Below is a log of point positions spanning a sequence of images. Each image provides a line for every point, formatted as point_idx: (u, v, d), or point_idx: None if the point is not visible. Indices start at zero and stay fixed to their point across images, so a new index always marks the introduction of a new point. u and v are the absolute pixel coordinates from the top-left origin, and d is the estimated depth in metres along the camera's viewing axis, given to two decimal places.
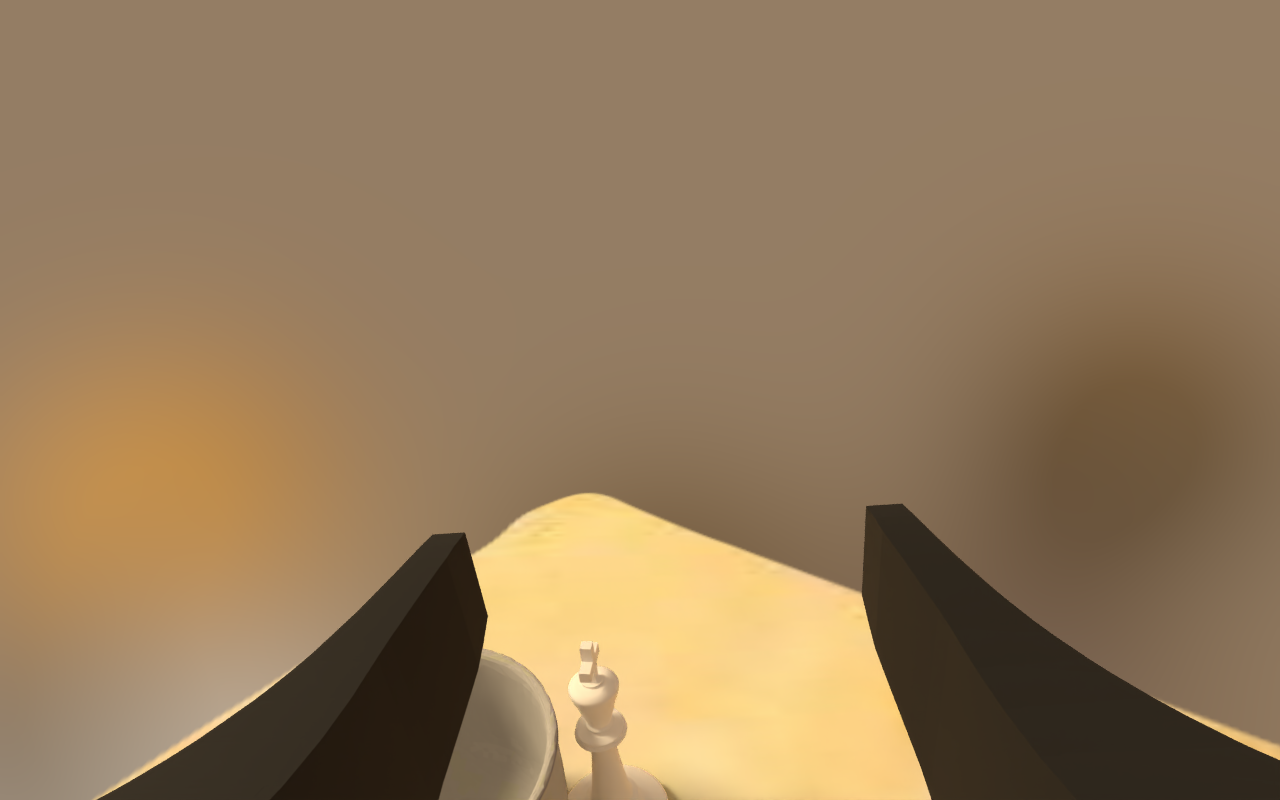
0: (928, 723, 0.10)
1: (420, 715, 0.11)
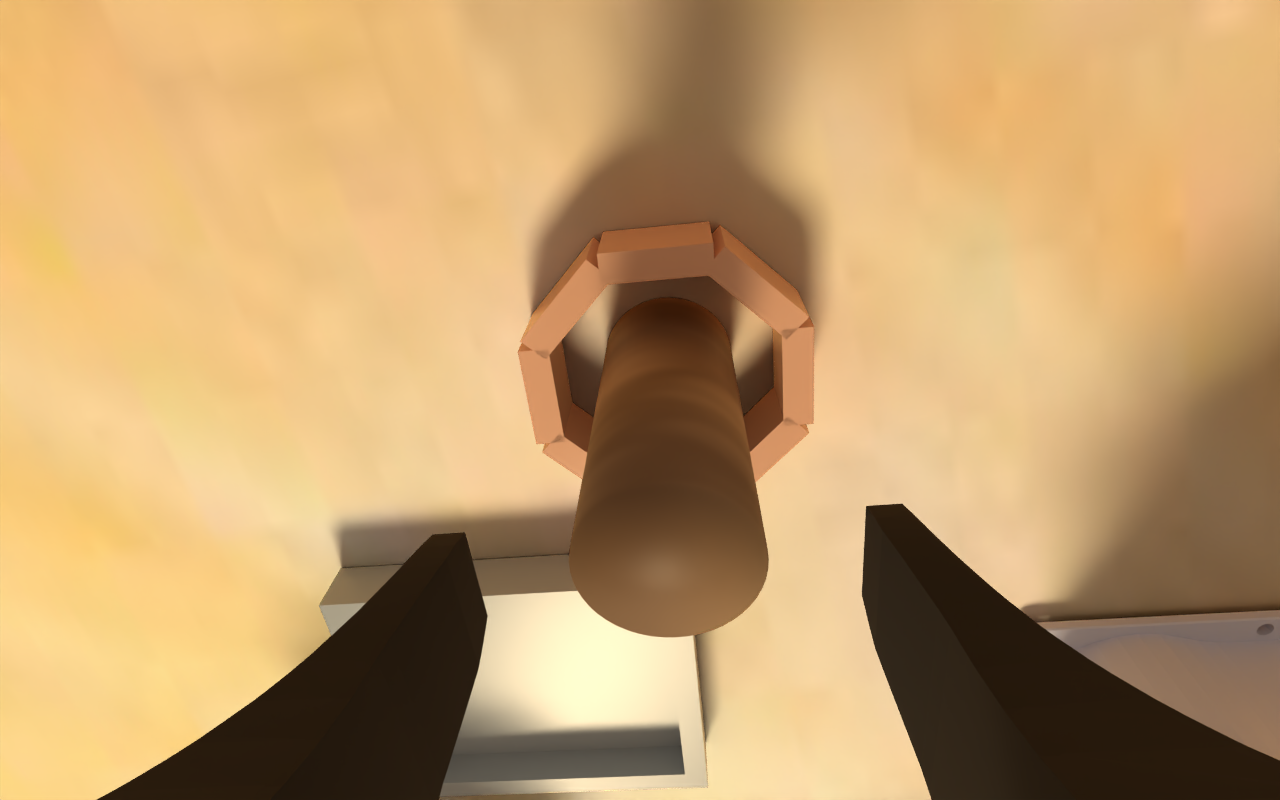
0: (929, 723, 0.10)
1: (420, 715, 0.11)
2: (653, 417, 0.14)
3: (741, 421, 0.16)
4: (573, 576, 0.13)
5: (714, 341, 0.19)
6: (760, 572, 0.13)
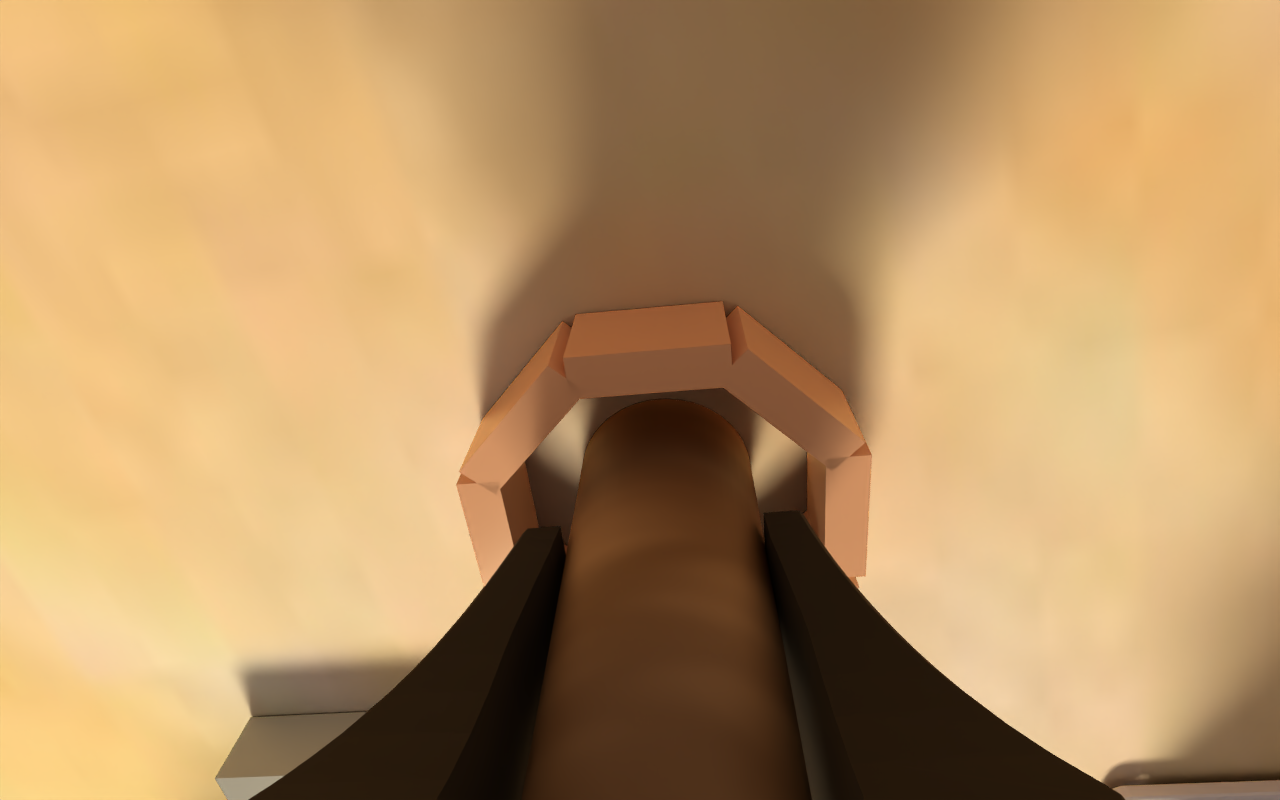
0: (804, 728, 0.10)
1: (533, 710, 0.11)
2: (642, 657, 0.09)
3: (775, 622, 0.11)
4: None
5: (730, 473, 0.13)
6: None
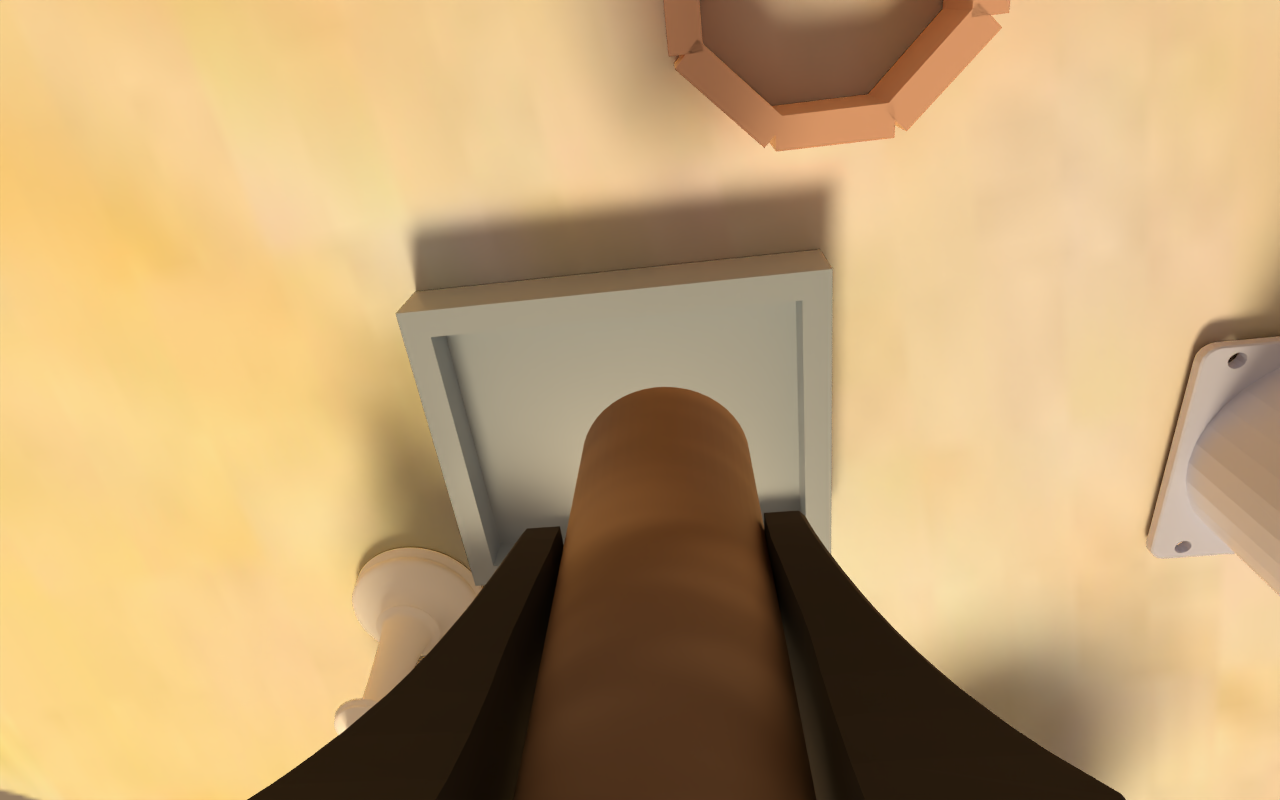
0: (804, 728, 0.11)
1: None
2: (652, 629, 0.09)
3: (778, 609, 0.11)
4: None
5: (735, 462, 0.13)
6: None
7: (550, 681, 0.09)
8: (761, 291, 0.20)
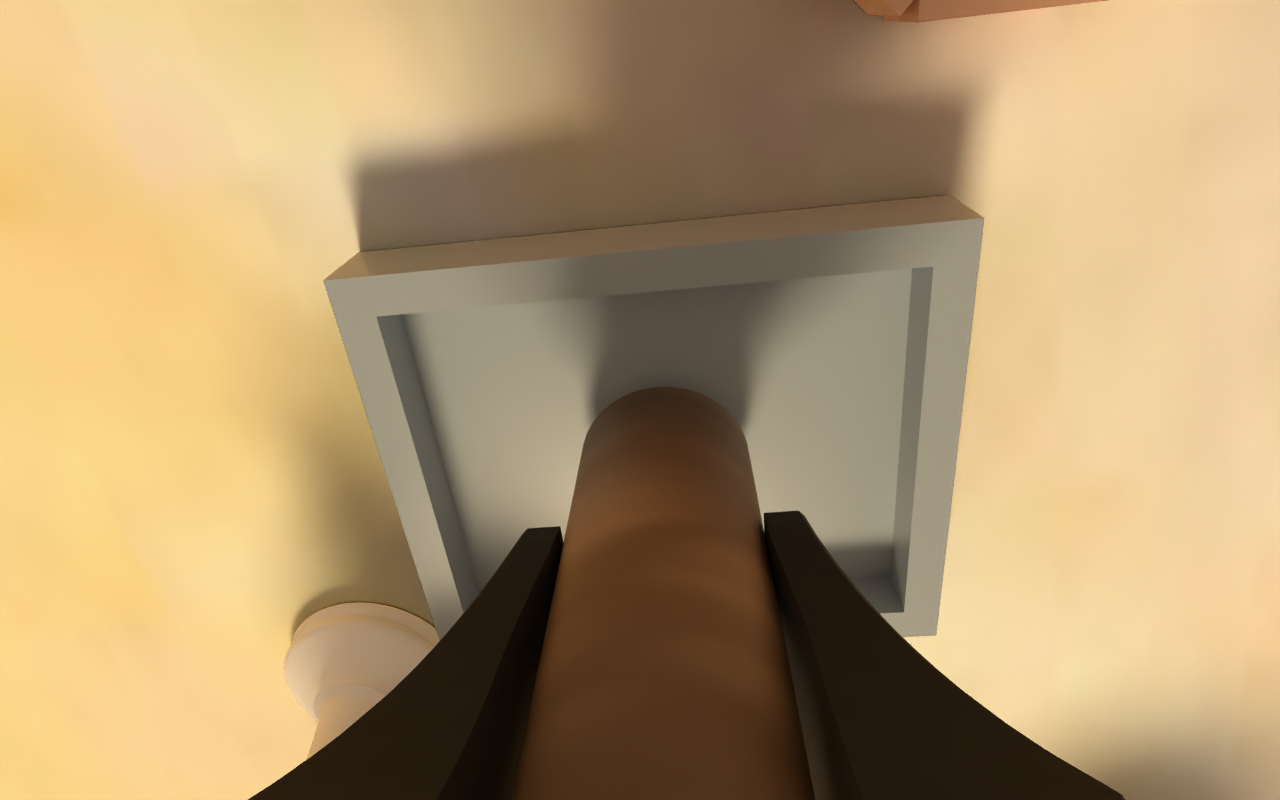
0: (804, 728, 0.10)
1: None
2: (652, 628, 0.09)
3: (777, 609, 0.11)
4: None
5: (735, 463, 0.13)
6: None
7: (549, 679, 0.09)
8: (873, 251, 0.13)
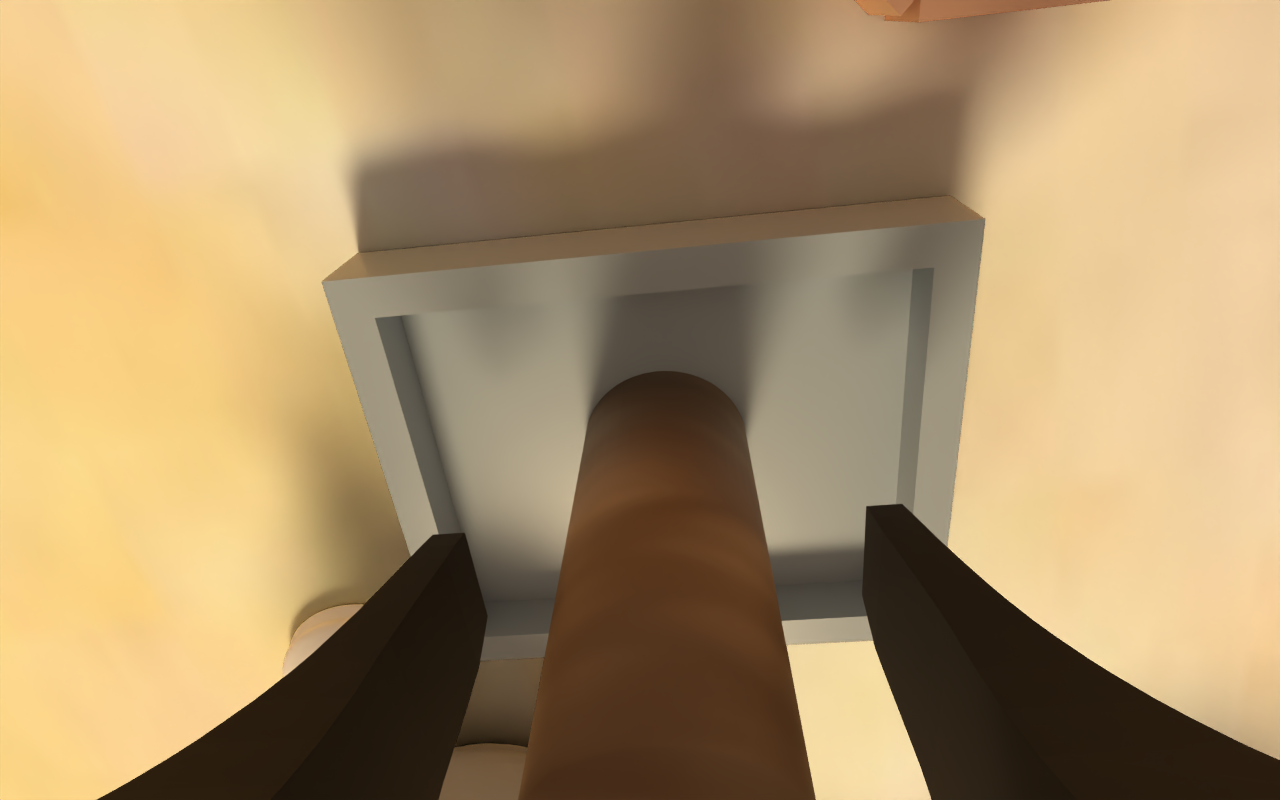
0: (928, 723, 0.10)
1: (420, 715, 0.11)
2: (656, 593, 0.10)
3: (772, 578, 0.12)
4: None
5: (733, 443, 0.14)
6: None
7: (560, 641, 0.10)
8: (873, 252, 0.13)
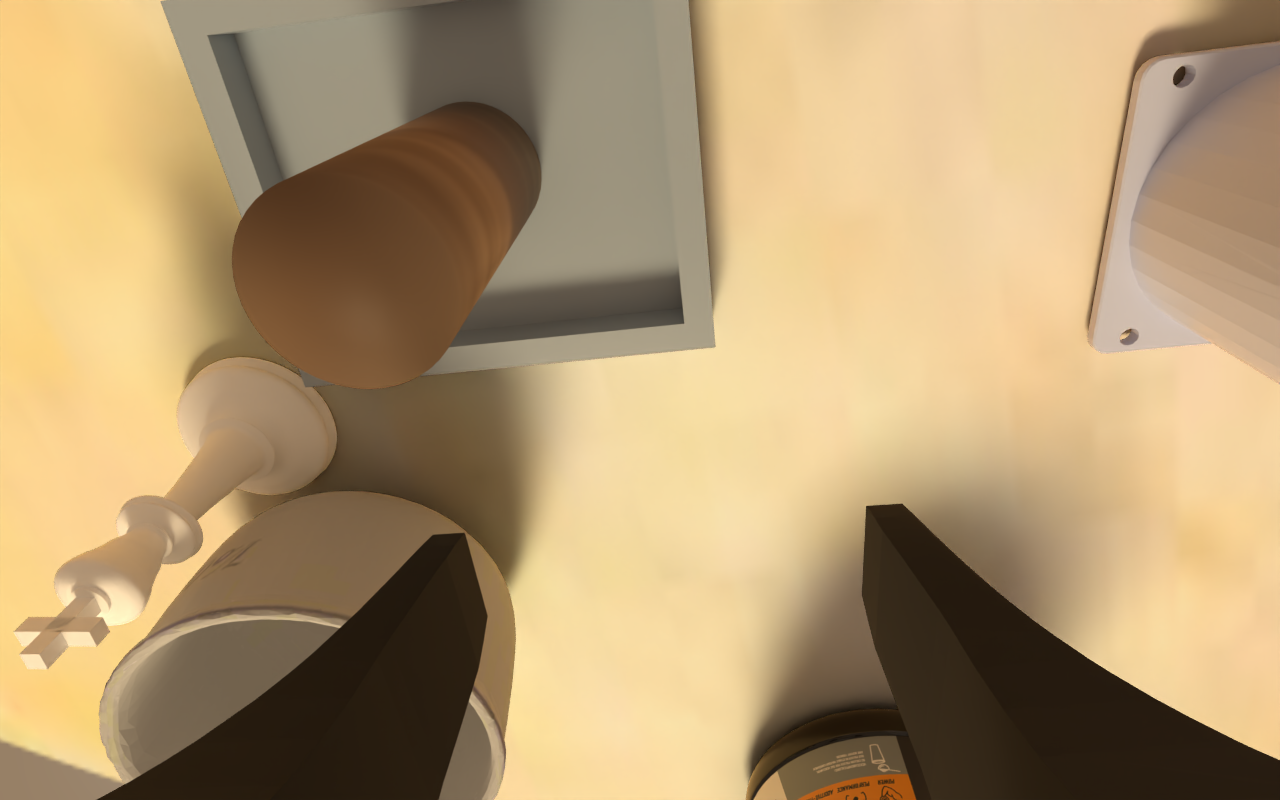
0: (928, 723, 0.10)
1: (420, 715, 0.11)
2: (366, 147, 0.13)
3: (495, 191, 0.15)
4: (241, 300, 0.12)
5: (502, 135, 0.17)
6: (452, 304, 0.12)
7: None
8: None
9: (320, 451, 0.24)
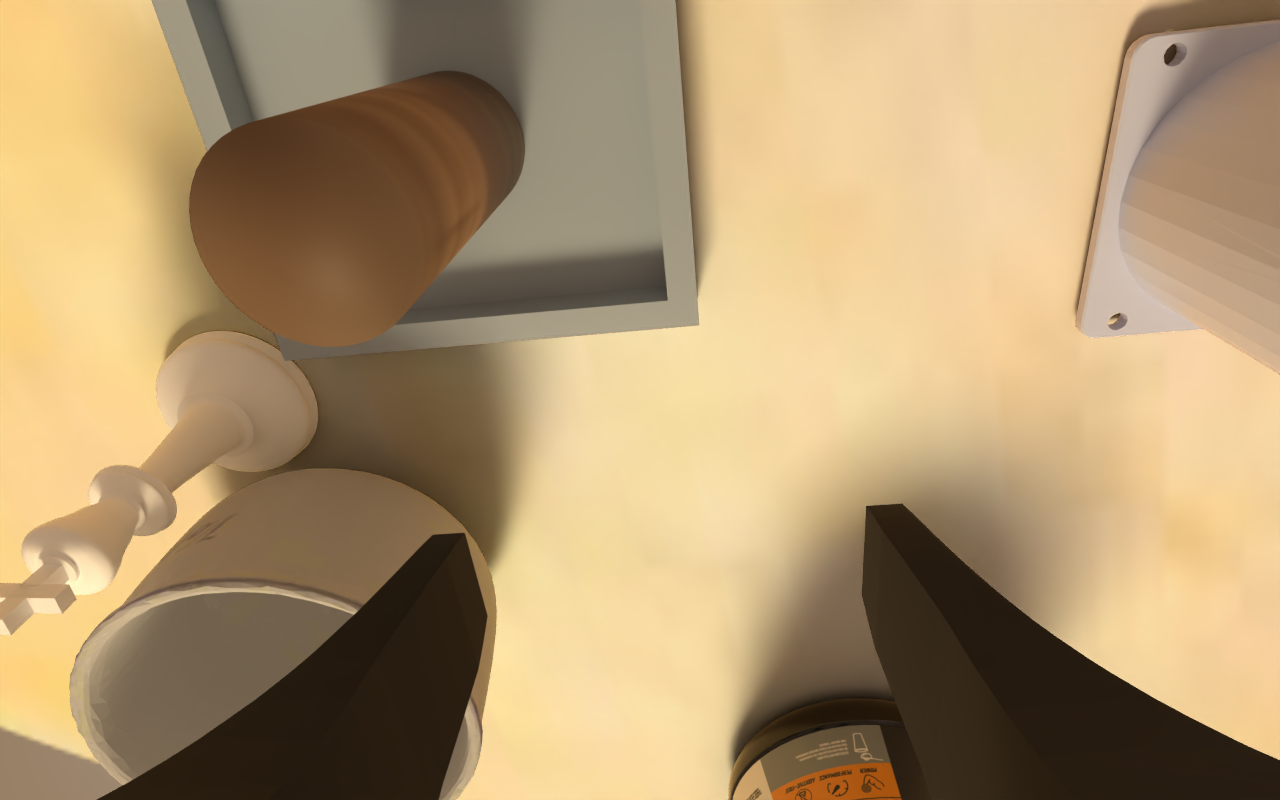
0: (928, 723, 0.10)
1: (420, 715, 0.11)
2: (333, 101, 0.13)
3: (469, 154, 0.14)
4: (199, 250, 0.12)
5: (482, 102, 0.17)
6: (414, 259, 0.11)
7: None
8: None
9: (300, 427, 0.23)
